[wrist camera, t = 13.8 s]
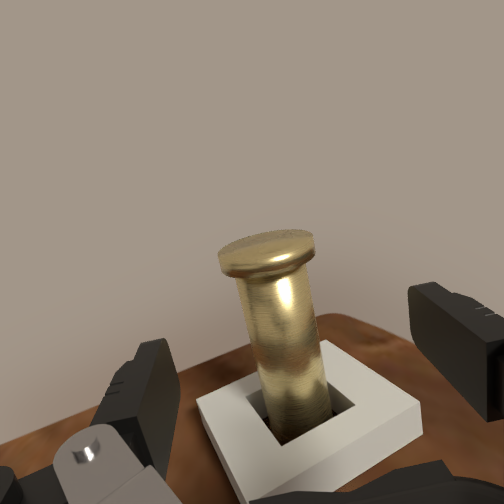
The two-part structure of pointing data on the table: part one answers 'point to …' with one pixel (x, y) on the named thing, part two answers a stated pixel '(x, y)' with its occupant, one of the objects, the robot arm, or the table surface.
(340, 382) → the frame
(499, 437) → the table surface
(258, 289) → the gold flanged cylinder
